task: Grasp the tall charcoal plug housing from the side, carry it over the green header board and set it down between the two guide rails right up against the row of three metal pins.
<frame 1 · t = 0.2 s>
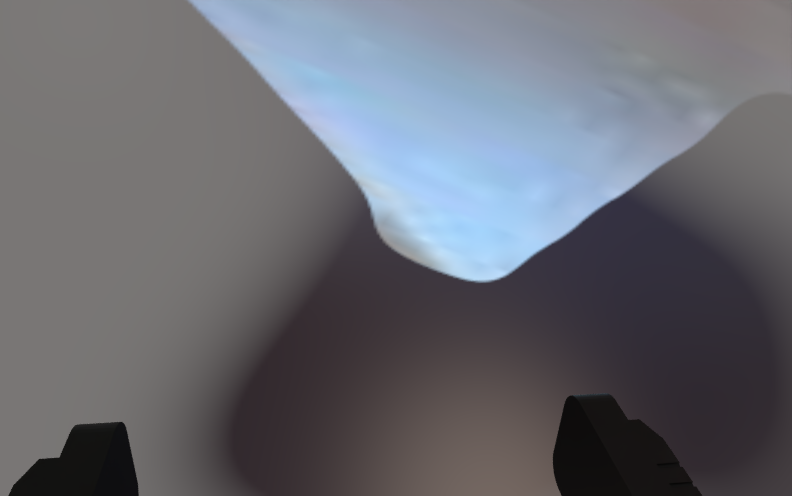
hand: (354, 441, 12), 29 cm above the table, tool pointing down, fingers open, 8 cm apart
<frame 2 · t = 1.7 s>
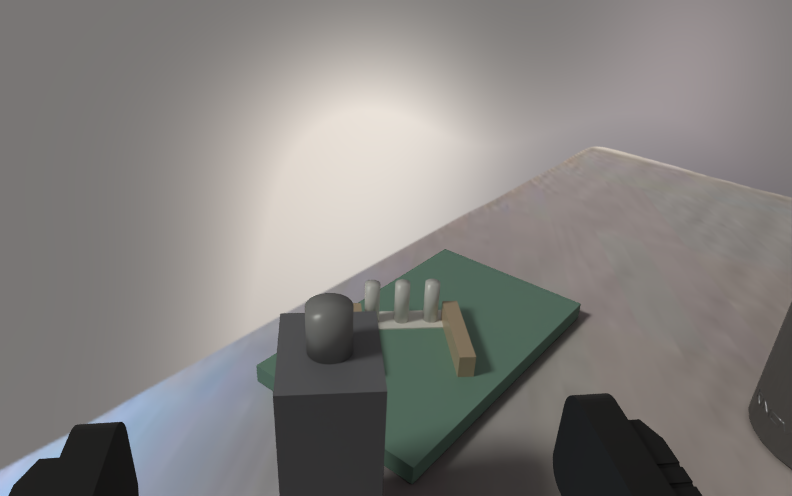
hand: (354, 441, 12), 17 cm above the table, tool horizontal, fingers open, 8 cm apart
header board: (431, 346, 43), on the table
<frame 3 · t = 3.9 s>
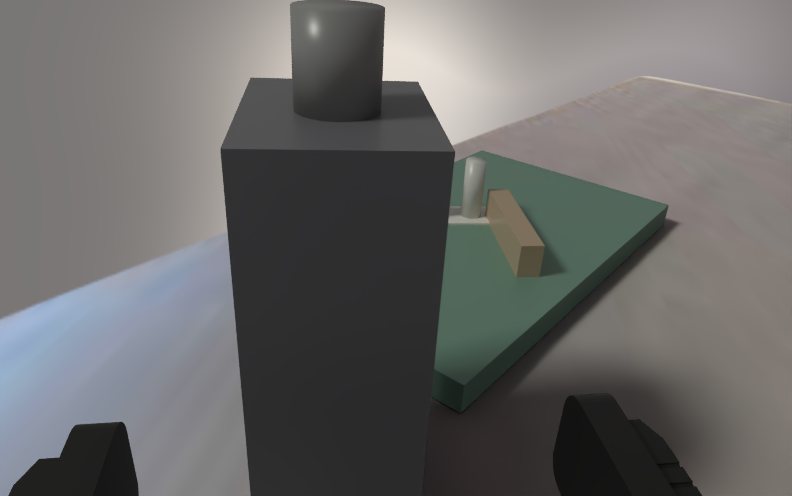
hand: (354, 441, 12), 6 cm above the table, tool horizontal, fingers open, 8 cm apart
header board: (473, 250, 31), on the table
plug housing: (335, 484, 18), on the table
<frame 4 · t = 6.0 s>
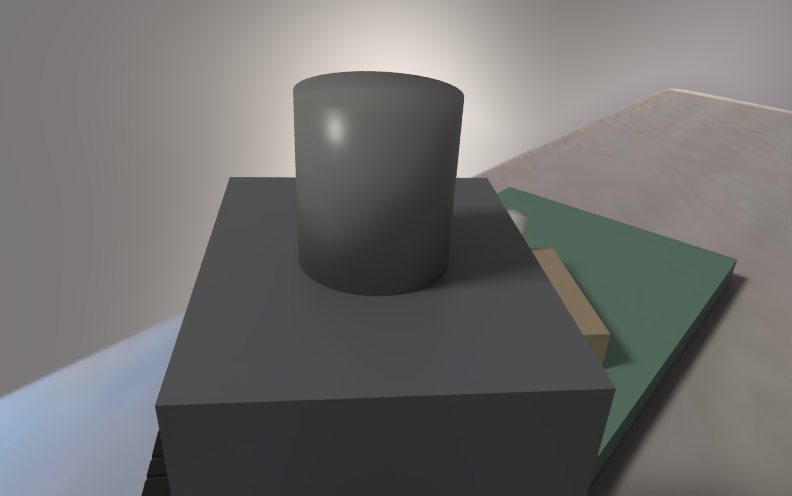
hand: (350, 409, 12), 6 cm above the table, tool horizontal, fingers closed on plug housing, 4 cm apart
header board: (510, 322, 26), on the table
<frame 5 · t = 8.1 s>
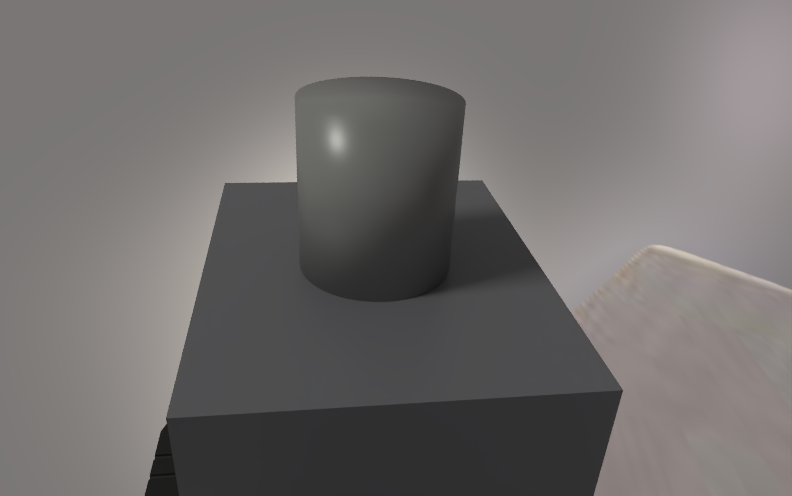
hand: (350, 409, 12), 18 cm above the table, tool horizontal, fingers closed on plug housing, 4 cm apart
when the fingers open (9 cm above the table, at t = 10.3 s): plug housing drops 1 cm, resting on header board.
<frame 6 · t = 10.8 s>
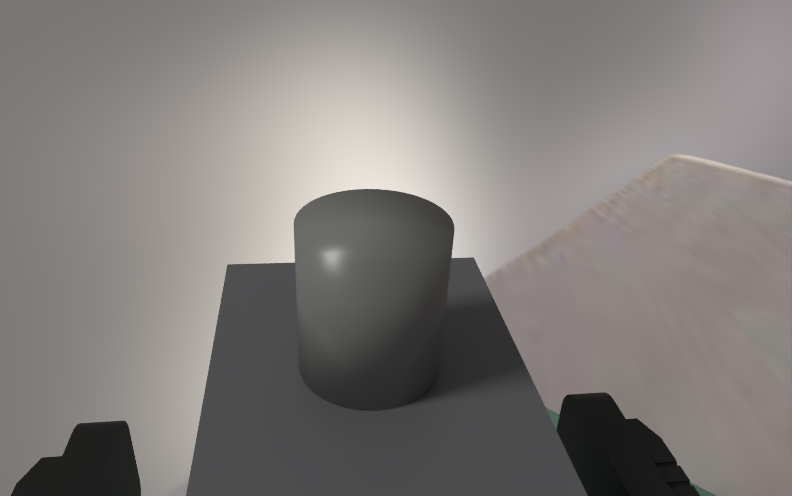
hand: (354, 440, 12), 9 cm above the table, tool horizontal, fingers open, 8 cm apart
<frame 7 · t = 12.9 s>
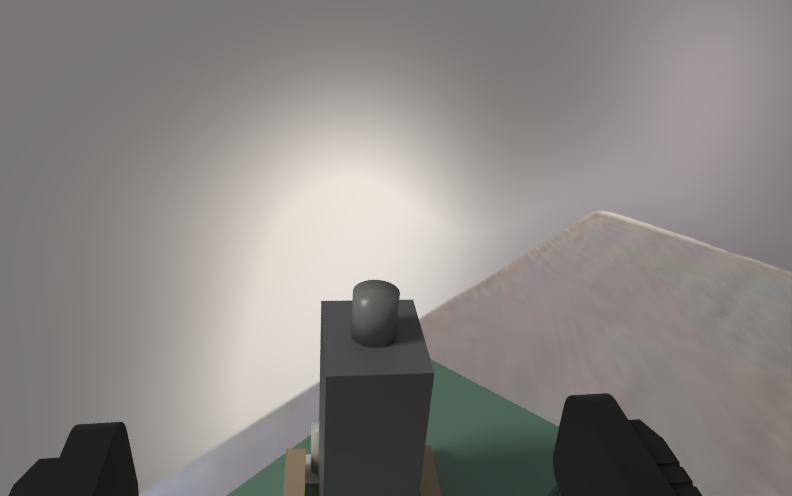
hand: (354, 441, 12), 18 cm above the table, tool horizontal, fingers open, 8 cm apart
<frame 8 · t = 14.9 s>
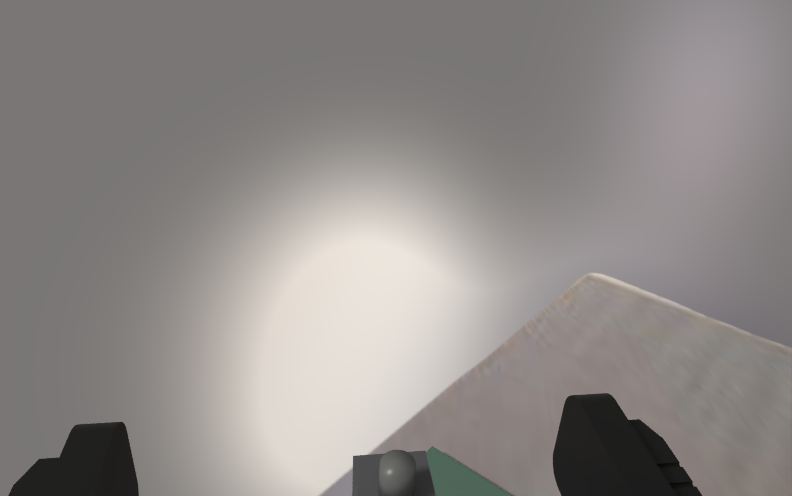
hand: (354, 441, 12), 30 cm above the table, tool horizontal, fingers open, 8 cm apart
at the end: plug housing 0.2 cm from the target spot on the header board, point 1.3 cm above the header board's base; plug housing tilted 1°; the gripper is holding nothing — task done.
